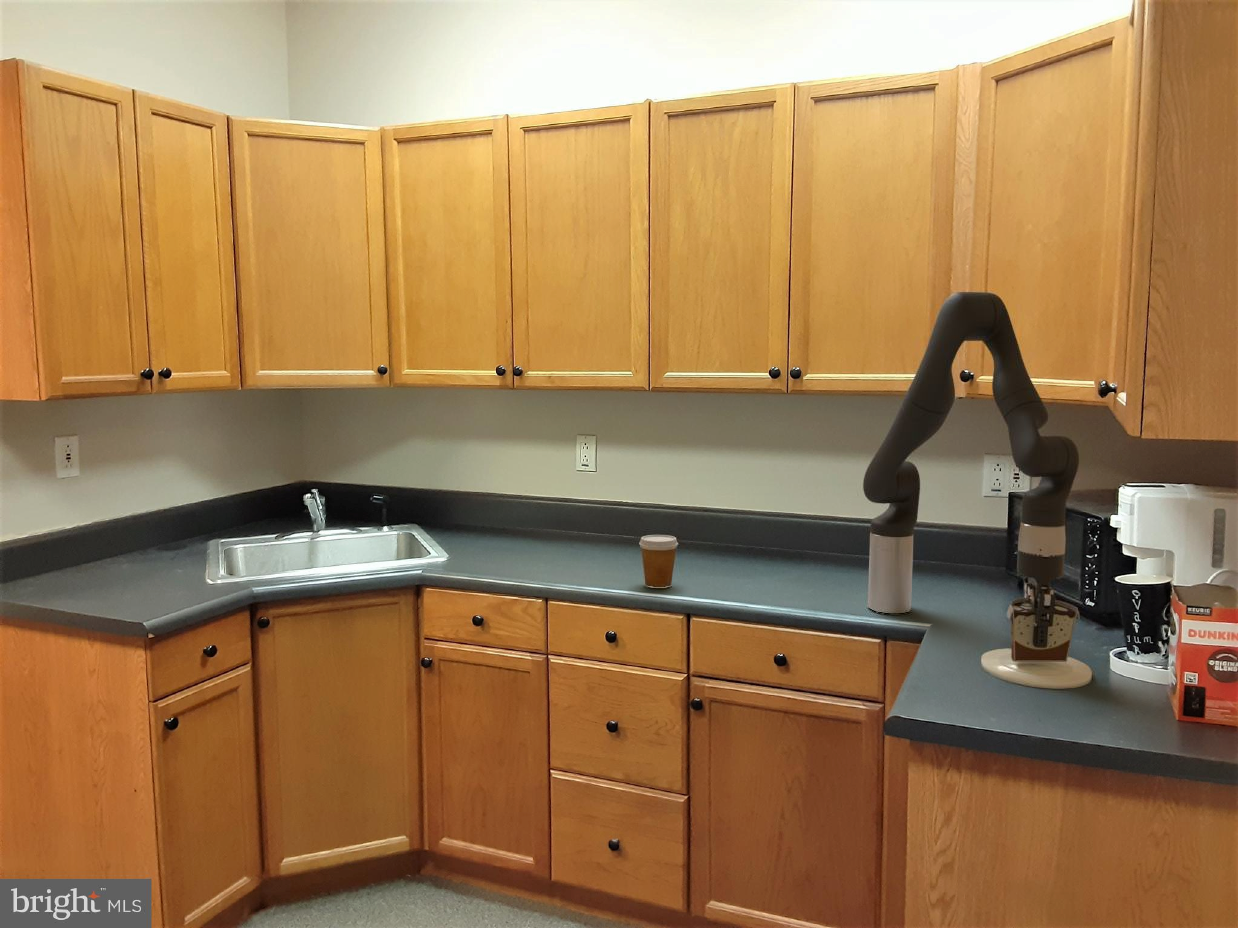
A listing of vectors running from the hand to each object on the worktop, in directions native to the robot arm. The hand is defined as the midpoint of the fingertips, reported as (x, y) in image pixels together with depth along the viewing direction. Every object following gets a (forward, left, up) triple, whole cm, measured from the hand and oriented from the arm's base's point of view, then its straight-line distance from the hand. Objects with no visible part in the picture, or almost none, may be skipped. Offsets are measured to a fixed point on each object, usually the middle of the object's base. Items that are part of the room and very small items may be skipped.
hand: (1035, 641), depth 163 cm
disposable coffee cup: (-45, -77, -6) cm, 89 cm away
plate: (0, 0, -5) cm, 5 cm away
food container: (-1, 0, -3) cm, 3 cm away
